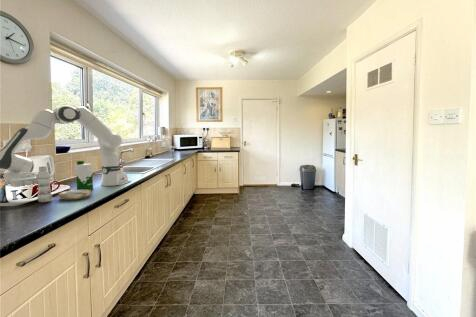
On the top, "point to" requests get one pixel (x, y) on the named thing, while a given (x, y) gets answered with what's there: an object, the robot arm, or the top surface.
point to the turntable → (74, 194)
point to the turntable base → (75, 199)
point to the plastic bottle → (43, 185)
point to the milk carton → (84, 175)
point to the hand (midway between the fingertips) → (41, 181)
